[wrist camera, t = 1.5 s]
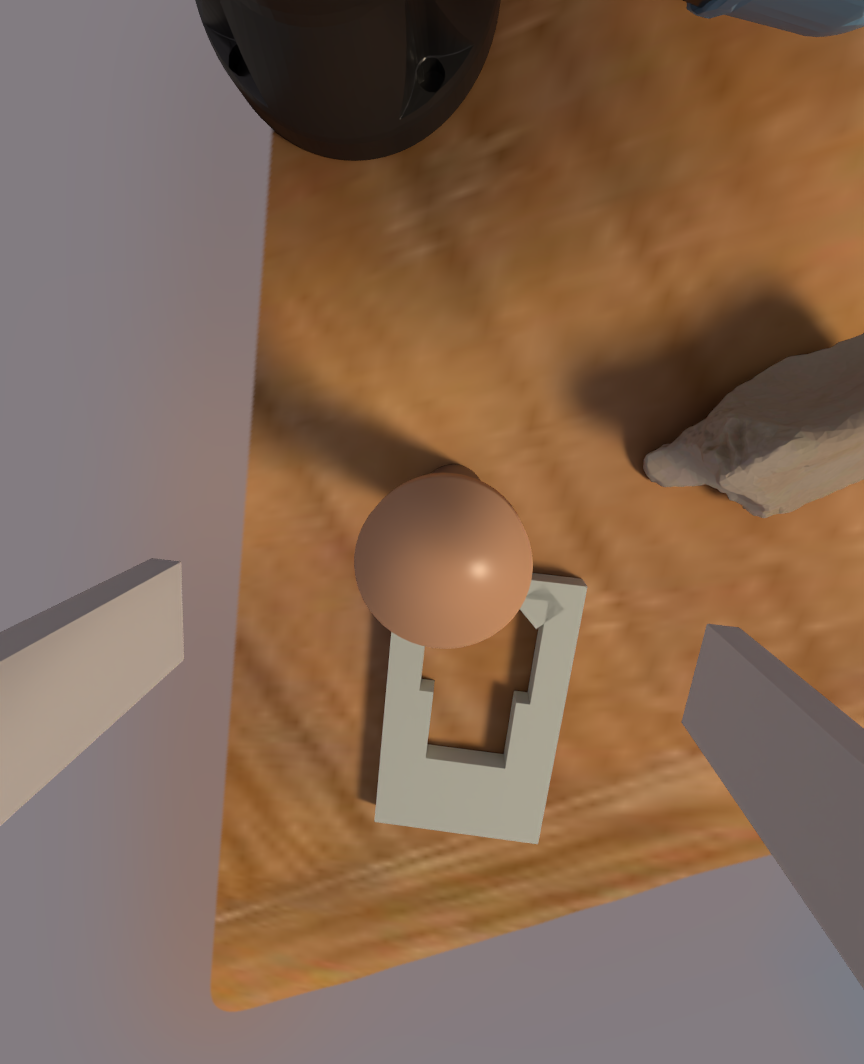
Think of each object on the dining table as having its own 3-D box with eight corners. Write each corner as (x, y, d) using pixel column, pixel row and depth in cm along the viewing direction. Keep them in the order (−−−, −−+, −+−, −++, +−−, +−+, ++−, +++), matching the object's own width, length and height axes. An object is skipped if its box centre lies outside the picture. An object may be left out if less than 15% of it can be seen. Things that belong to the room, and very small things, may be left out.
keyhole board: (400, 557, 33) (397, 564, 32) (581, 578, 33) (587, 586, 31) (377, 805, 38) (374, 821, 37) (535, 827, 38) (537, 844, 36)
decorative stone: (626, 426, 30) (684, 434, 22) (876, 315, 28) (1039, 280, 20) (671, 545, 32) (739, 592, 24) (911, 449, 30) (1073, 466, 22)
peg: (407, 440, 31) (360, 468, 17) (509, 450, 31) (546, 489, 17) (398, 538, 33) (349, 637, 19) (496, 549, 33) (518, 658, 19)
